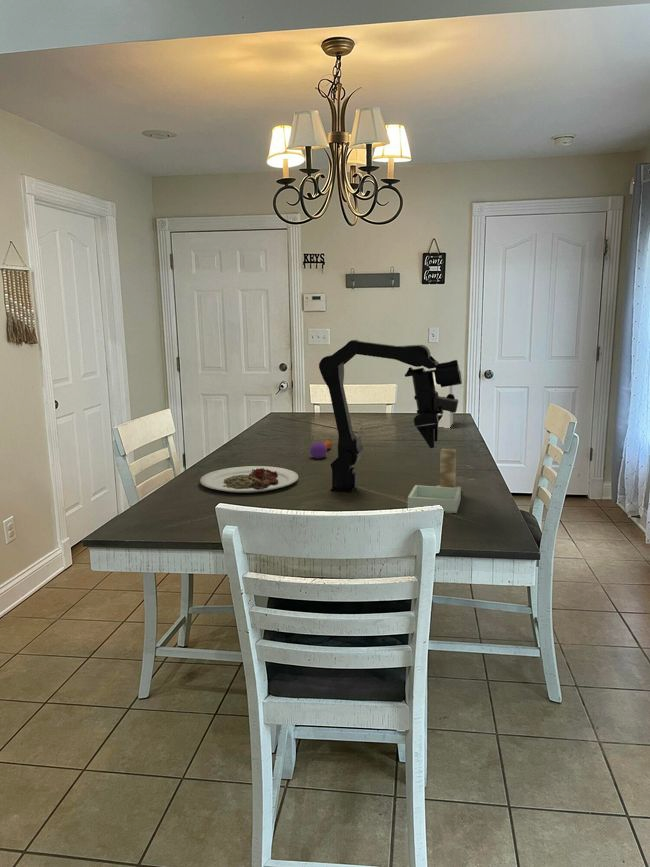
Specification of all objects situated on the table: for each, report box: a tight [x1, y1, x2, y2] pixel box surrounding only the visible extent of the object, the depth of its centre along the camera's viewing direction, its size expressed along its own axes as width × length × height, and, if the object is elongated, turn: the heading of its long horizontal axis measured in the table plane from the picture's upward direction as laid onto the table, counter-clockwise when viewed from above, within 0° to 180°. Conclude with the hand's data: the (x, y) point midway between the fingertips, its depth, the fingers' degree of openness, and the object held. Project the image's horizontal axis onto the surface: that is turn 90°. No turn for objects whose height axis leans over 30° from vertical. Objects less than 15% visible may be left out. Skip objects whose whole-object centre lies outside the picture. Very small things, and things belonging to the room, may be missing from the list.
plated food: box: [199, 465, 299, 494], centre depth 201 cm, size 30×30×3 cm
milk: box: [432, 368, 454, 429], centre depth 294 cm, size 12×12×26 cm
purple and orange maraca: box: [309, 440, 333, 460], centre depth 241 cm, size 6×6×20 cm
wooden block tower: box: [436, 448, 462, 489], centre depth 186 cm, size 7×7×12 cm
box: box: [407, 484, 462, 514], centre depth 175 cm, size 13×13×4 cm
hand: (433, 444), depth 183 cm, fingers open, 9 cm apart
